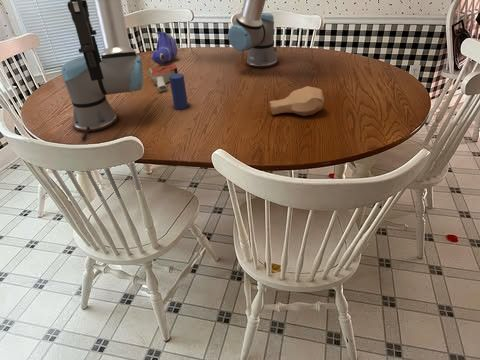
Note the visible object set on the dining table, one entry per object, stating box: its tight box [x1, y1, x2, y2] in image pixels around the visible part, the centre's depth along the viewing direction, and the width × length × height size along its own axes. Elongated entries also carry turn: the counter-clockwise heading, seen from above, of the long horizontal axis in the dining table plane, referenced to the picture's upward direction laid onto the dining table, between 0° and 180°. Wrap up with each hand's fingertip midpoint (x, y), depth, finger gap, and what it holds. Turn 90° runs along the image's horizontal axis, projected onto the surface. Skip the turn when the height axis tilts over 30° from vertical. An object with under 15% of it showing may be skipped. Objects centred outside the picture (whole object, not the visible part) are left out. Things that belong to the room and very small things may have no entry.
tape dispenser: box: [148, 64, 179, 93], centre depth 162 cm, size 18×5×20 cm
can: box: [169, 72, 189, 110], centre depth 138 cm, size 6×6×12 cm
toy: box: [150, 31, 178, 67], centre depth 182 cm, size 10×17×25 cm
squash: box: [268, 85, 325, 117], centre depth 129 cm, size 11×20×9 cm, turn 92°
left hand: (97, 70), depth 88 cm, fingers open, 13 cm apart
